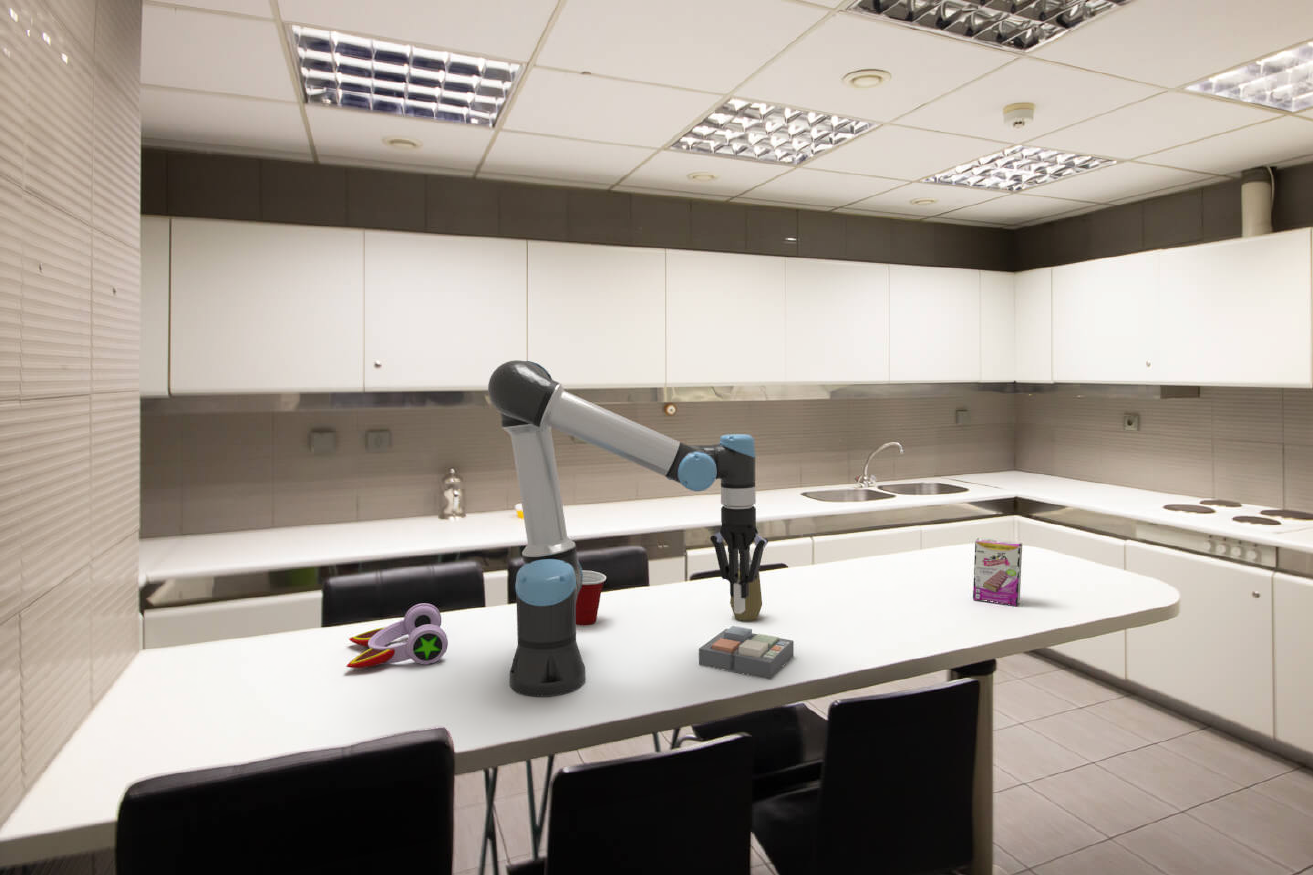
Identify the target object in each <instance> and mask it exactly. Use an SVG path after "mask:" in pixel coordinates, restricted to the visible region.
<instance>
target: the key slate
mask: <svg viewBox="0 0 1313 875" xmlns="http://www.w3.org/2000/svg"><path fill="white" fill-rule="evenodd" d="M727 629H728V630H726V631H725V632H724V639H728V640H734V641H739V642H742V643H744V642H745V641H746V640H747V639H748V640H749V639H750V638H751V637H752V633H753V629H752V628H746V627H741V626H735V625H732V626H730V627H729V628H727Z"/></svg>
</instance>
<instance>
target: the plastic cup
mask: <svg viewBox="0 0 1313 875" xmlns="http://www.w3.org/2000/svg"><path fill="white" fill-rule="evenodd" d="M582 572H583V581H582V586H581V589H580V591H579V594H578V597H577V601H576V626H584V627H585V626H591V625H594V624H595V623H596V622H597V619H598V611H599V607H600V600H601V595H602V590H603V586H604V584H605V581H606V579H607V576H606V575H605V574H603V573H601V572H597V571H593V570H583V569H582Z"/></svg>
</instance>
